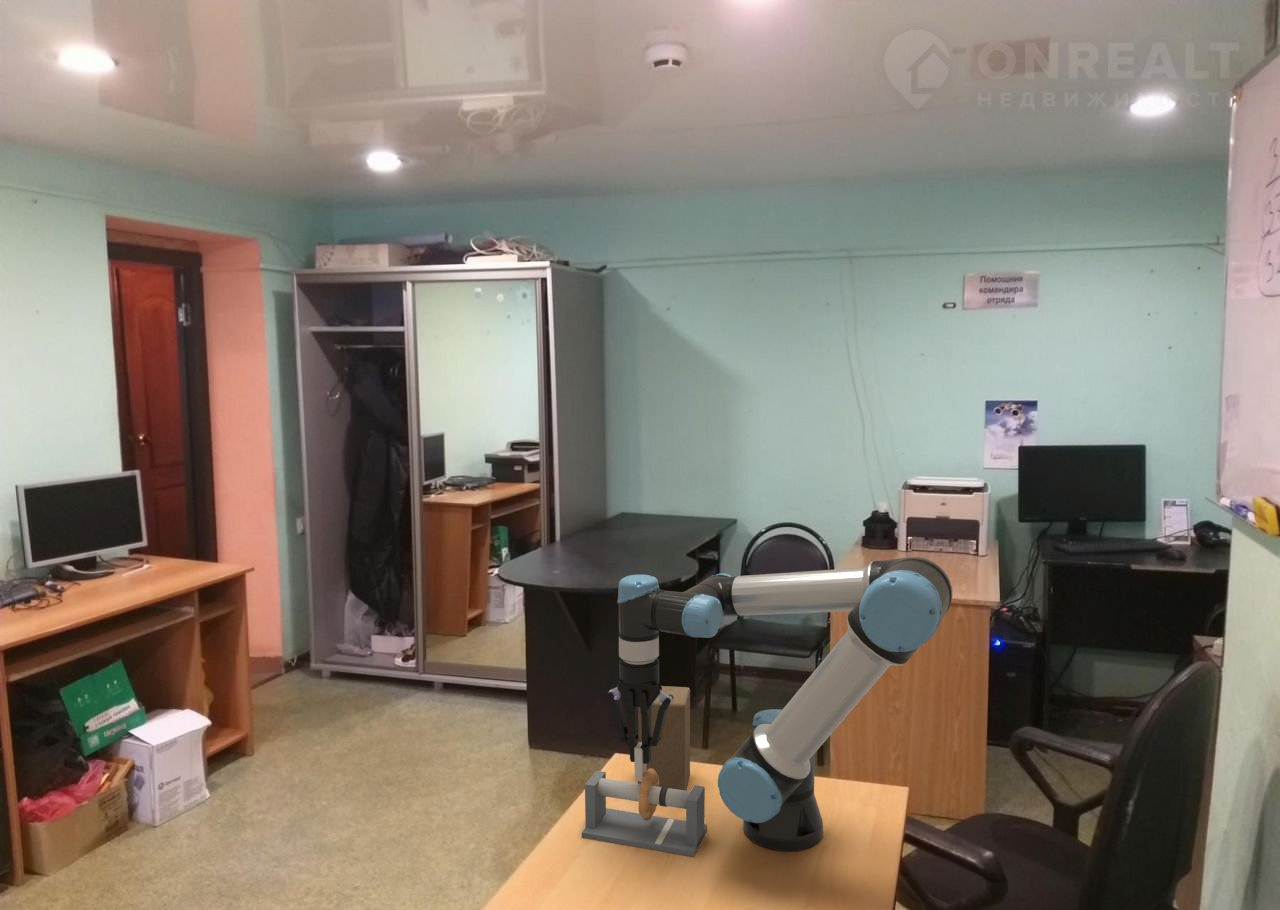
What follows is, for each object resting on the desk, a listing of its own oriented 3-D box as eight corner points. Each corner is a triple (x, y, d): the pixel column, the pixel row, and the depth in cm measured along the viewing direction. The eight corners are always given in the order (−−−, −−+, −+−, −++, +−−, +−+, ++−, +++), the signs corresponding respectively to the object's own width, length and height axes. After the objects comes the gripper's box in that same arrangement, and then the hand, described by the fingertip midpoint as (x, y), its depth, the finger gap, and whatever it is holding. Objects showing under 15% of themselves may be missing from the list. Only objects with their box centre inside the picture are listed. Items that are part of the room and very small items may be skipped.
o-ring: (660, 805, 175) (660, 762, 174) (646, 828, 167) (646, 783, 166) (651, 804, 175) (651, 761, 174) (637, 826, 167) (637, 781, 166)
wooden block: (637, 793, 187) (636, 701, 185) (644, 772, 197) (644, 684, 195) (684, 797, 186) (684, 704, 183) (690, 775, 195) (690, 686, 193)
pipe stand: (706, 829, 173) (707, 781, 172) (693, 856, 164) (693, 806, 162) (600, 811, 180) (599, 765, 179) (581, 837, 170) (581, 788, 169)
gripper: (677, 654, 170) (678, 773, 172) (613, 648, 174) (615, 765, 176) (666, 667, 163) (668, 791, 165) (599, 661, 167) (601, 782, 169)
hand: (640, 778), depth 171 cm, fingers closed
